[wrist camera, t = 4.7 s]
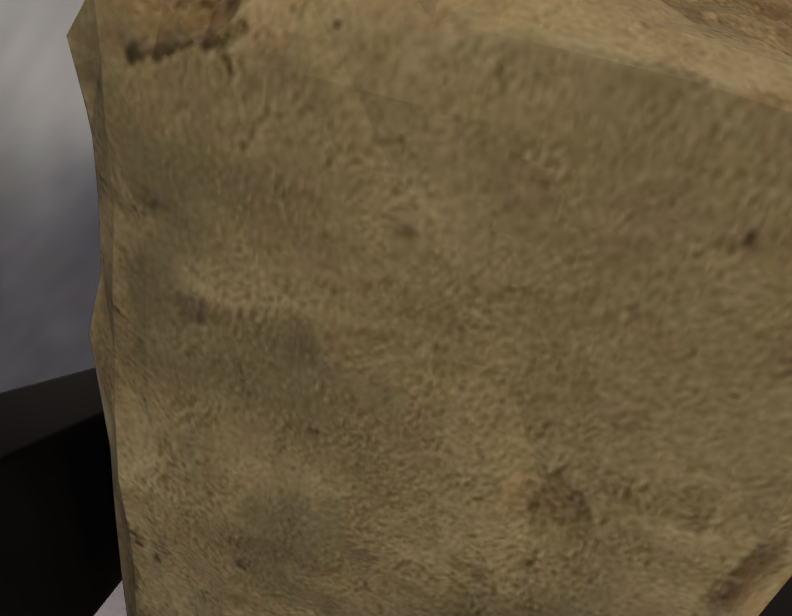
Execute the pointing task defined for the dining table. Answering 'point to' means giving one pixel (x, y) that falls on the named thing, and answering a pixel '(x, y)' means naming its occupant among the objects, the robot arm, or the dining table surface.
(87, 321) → the dining table surface
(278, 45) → the stone block
